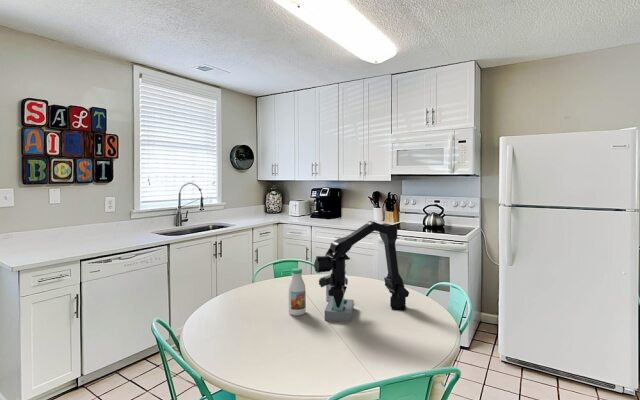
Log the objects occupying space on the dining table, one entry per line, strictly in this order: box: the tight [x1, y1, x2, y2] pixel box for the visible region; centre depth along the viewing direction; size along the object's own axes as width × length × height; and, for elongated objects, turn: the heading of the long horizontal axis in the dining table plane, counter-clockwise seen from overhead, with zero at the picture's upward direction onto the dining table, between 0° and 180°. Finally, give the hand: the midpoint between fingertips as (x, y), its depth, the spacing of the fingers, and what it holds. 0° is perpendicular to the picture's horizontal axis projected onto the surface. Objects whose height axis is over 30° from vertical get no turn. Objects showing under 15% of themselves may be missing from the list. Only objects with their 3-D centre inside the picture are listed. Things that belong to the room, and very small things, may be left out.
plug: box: [333, 295, 345, 311], centre depth 156 cm, size 4×4×9 cm
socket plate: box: [324, 298, 355, 323], centre depth 160 cm, size 11×16×4 cm
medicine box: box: [325, 284, 333, 302], centre depth 178 cm, size 8×4×9 cm, turn 143°
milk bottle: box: [287, 267, 307, 317], centre depth 161 cm, size 8×8×20 cm
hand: (338, 305), depth 156 cm, fingers closed on plug, 4 cm apart
